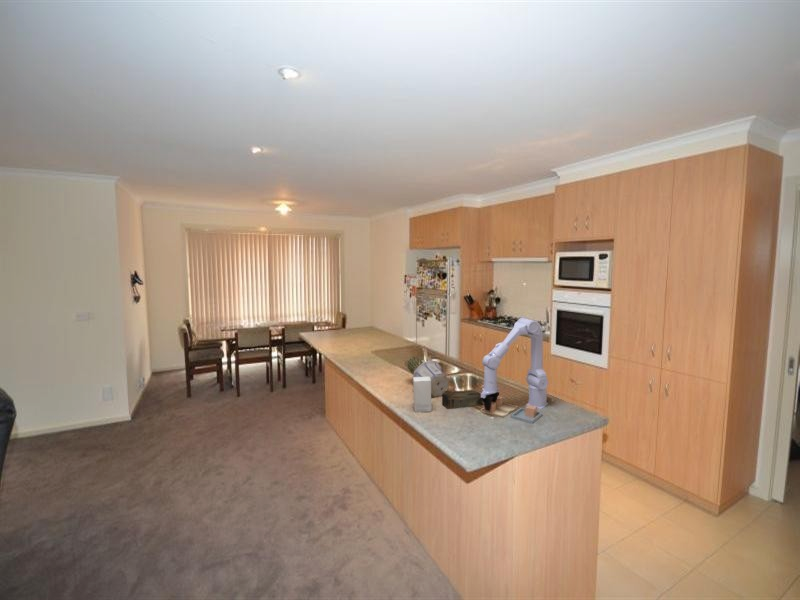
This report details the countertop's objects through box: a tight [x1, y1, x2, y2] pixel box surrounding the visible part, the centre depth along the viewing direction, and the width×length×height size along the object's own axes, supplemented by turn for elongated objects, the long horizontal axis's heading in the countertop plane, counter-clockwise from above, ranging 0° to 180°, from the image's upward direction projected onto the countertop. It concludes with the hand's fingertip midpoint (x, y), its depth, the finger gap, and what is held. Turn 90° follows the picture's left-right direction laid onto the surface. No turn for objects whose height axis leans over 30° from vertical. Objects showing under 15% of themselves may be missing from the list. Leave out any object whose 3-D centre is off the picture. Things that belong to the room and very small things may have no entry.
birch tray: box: [479, 402, 519, 419], centre depth 185 cm, size 16×12×1 cm
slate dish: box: [509, 407, 543, 425], centre depth 177 cm, size 12×10×2 cm
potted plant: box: [406, 356, 450, 398], centre depth 214 cm, size 18×18×30 cm
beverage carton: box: [441, 390, 484, 410], centre depth 191 cm, size 8×19×7 cm, turn 105°
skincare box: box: [412, 376, 432, 413], centre depth 186 cm, size 8×7×16 cm
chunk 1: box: [483, 402, 496, 413], centre depth 183 cm, size 4×4×4 cm
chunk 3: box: [524, 405, 538, 418], centre depth 178 cm, size 4×4×4 cm
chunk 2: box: [496, 395, 504, 407], centre depth 190 cm, size 4×4×4 cm
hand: (489, 408), depth 183 cm, fingers closed on chunk 1, 4 cm apart
